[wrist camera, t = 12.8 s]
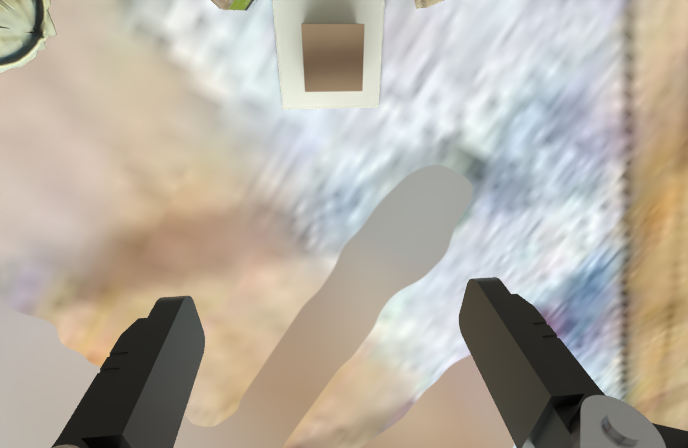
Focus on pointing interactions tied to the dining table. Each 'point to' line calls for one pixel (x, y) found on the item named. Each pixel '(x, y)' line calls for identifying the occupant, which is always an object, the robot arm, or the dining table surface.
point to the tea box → (234, 4)
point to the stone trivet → (289, 13)
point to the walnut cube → (333, 57)
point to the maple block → (425, 3)
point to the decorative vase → (23, 31)
